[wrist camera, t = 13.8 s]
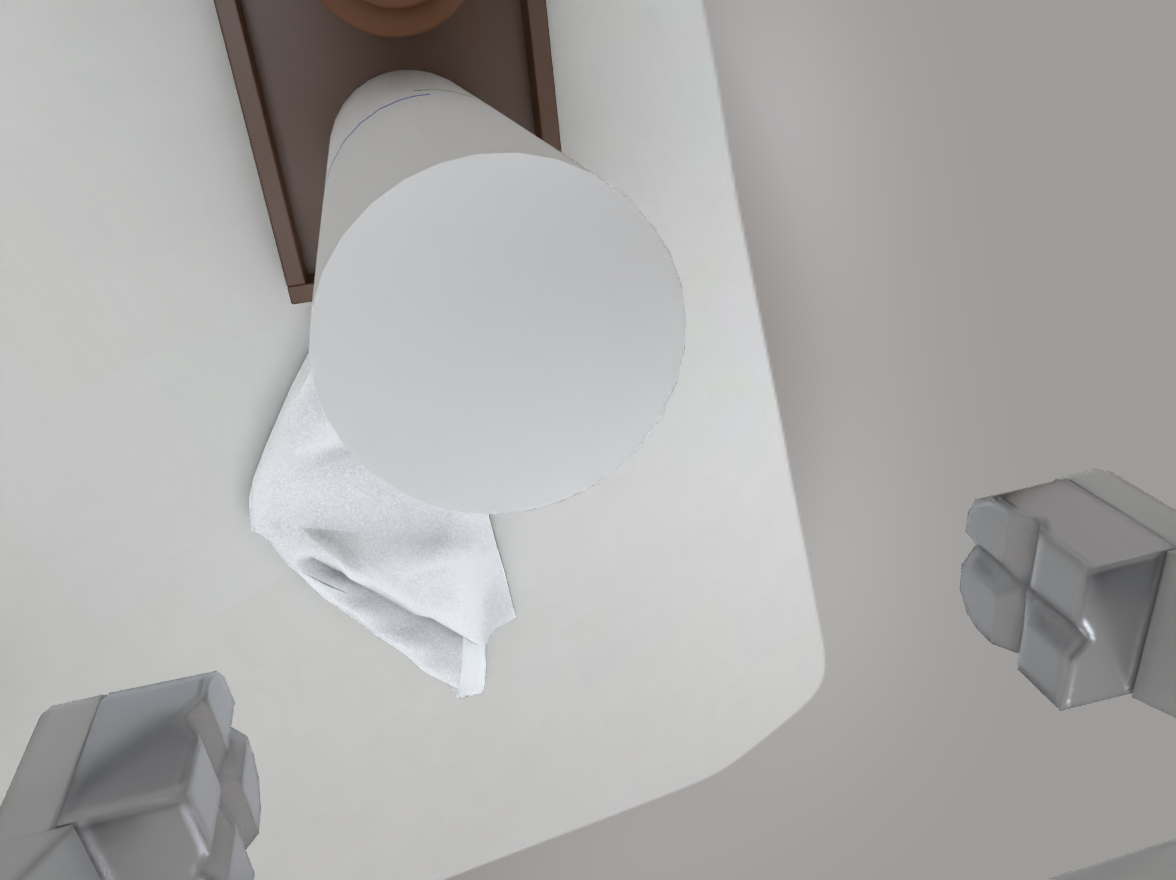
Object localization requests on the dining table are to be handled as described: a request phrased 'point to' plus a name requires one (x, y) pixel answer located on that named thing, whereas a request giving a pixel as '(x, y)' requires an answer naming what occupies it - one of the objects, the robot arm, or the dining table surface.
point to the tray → (341, 65)
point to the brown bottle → (393, 15)
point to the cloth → (379, 546)
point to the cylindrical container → (483, 304)
